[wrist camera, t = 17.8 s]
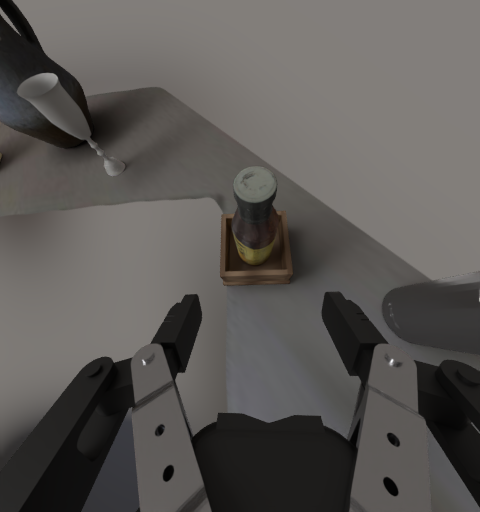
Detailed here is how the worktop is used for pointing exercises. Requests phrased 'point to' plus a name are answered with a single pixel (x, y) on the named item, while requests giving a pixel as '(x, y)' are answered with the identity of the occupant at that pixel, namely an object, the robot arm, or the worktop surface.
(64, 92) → the chalice
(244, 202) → the sauce bottle
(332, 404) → the worktop surface
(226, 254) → the open wooden box
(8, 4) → the pitcher
